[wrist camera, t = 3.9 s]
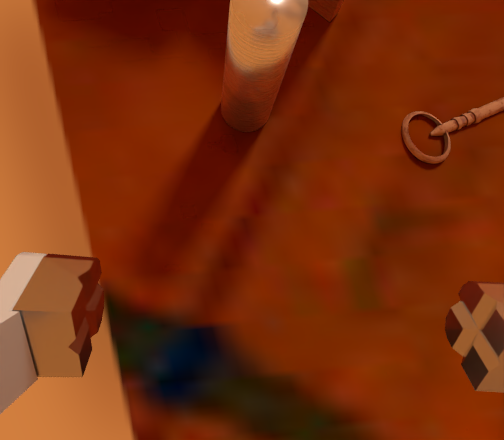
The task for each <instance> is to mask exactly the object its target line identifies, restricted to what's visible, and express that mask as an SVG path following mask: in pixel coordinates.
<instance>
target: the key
mask: <svg viewBox="0 0 504 440" xmlns="http://www.w3.org/2000/svg"><path fill="white" fill-rule="evenodd" d="M503 110H504V97H503V98H501V99H498V100H496V101H494V102H491V103H489V104H487V105H484V106H482V107H479V108H477V109H476V108H473V109H472V110H470V111H469V112H467V113H464V114H462V115H460V117H455V118H453V119H451V121H448V122H446V123H443V124H442V123H441V122H440V121H439V120H438V119H437V118H436V117H434V116H433V115H431V114H429V113H427V112H422V111H417V112H412V113H410V114H408V115H407V116H406V117H405V119H404V120H403V123H402V137H403V140H404V143H405V145H406V146H407V148H408V149H409V151H410V152H411V153H412V154H413V155H414V156H415V157H417V158H418V159H419V160H421V161H423V162H426V163H432V164H435V163H440V162H442V161H444V160H445V159H446V158H447V156H448V154H449V152H450V147H451V143H450V138H449V135H448V133H449V132H452V131H454V130H456V131H457V130H459V129H461V128H462V127H463V126H465V127H466V126H468V125H471V123H473V124H474V123H479V122H480V121H481V120H482V119H484V118H487V117H489V116H491V115H494V114H496V113H498V112H501V111H503ZM415 115H423V116H426V117H428V118H430V119H431V120H433V121H434V122H435V123H436V124H437V125H438V126H437V127H436V128H435V129H434V130H433V131H432V132H431V133H430V135H431V136H442V135H443V136H444V140H445V149H444V152H443V154H442V155H441V156H439V157H431V156H427V155H425V154H423V153H422V152H421V151H419V150H418V149H417V148H416V147H415V145H414V144H413V142H412V141H411V139H410V136H409V133H408V123H409V121H410V119H411V118H412V117H413V116H415Z"/></svg>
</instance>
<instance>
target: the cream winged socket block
mask: <svg viewBox="0 0 504 440" xmlns="http://www.w3.org/2000/svg"><path fill="white" fill-rule="evenodd" d="M343 1H344V0H308V6H309V7H310V8H312V9H313V10H314V11H316V12H317V13H318V14H319V15H321V16H322V17H323V18H325V19H326V20H327V21H329V22H330V21H331V20H332V19H333V18H334V17H335V16H336V15H337V13H338V12H339V10H340V7H341V5H342V3H343Z"/></svg>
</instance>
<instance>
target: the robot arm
mask: <svg viewBox="0 0 504 440" xmlns="http://www.w3.org/2000/svg"><path fill="white" fill-rule="evenodd" d="M100 275H101V266H100V260H99V259H98V258H93V257H80V256H69V255H57V254H40V253H28V252H22V253H20V254H19V255H17V256H16V257H15V258H14V260H13V261H12V263H11V264H10V266H9V267H8V269H7V270H6V272H5V273H4V275H3V276H2V278H1V279H0V414H1V413H2V412H3V411H4V410H5V409H6V408H7V407H8V406H10V405H11V404H12V403H13V402H14V401H15V400H16V399H17V398H18V397H19V396H20V395H21V394H22V393H23V392H25V390H27V389H28V388H29V387H30V386H31V385H32V384H33V383H34V382H35V381H36V380H37V379H38V378H37V377H82V376H83V374H84V371H85V368H86V365H87V362H88V359H89V357H90V354H91V351H92V346H91V339H90V338H91V337H92V336H93V335H95V334H96V333H97V332H98V330H99V327H100V324H101V321H102V315H103V309H104V291H103V288H102V287H101V286H100V285H99V284H98V281H99V278H100ZM458 295H459V297H460V300H461V301H460V302H458V303H457V304H455V305H454V306H452V307H451V308H450V310H449V312H448V314H447V317H446V323H445V331H446V335H447V339H448V341H449V343H450V344H451V346H452V348H453V349H454V350H456V351H457V352H458V353H459V354H461V355H462V356H463V359H462V363H461V365H462V367H463V369H464V370H465V372H466V374H467V376H468V378H469V380H470V381H471V383H472V385H473V387H474V389H475V391H489V392H504V283H494V282H476V281H468V282H467V283H466V284H464V285H463V286H462V288H461V290H460V291H459V293H458Z"/></svg>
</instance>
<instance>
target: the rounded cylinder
mask: <svg viewBox="0 0 504 440" xmlns="http://www.w3.org/2000/svg"><path fill="white" fill-rule="evenodd" d="M307 9H308V0H230V9H229V20H228V31H227V43H226V54H225V65H224V76H223V88H222V99H221V113H222V116H223V118H224V120H225V121H226V123H227V124H228V125H229V126H231V127H232V128H234V129H235V130H238V131H241V132H252V131H256V130H258V129H260V128H261V127H263V126H264V125H265V124H266V122H267V121H268V119H269V116H270V113H271V111H272V108H273V105H274V102H275V99H276V97H277V94H278V91H279V88H280V86H281V83H282V80H283V77H284V74H285V72H286V69H287V66H288V63H289V60H290V58H291V55H292V52H293V49H294V47H295V44H296V41H297V38H298V35H299V33H300V30H301V27H302V24H303V21H304V19H305V16H306V13H307Z"/></svg>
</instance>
